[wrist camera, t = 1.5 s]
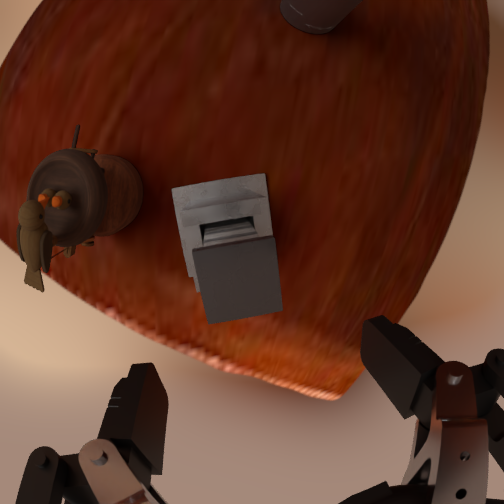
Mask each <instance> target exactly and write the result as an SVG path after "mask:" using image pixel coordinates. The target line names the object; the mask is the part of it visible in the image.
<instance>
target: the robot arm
mask: <svg viewBox="0 0 504 504" xmlns="http://www.w3.org/2000/svg"><path fill="white" fill-rule="evenodd" d="M361 1H363V0H282V1H281V4H280V10H281V13H282V15H283V17H284V18H285V19H286V20H287V21H288V22H289V23H290V24H291V25H293V26H294V27H296V28H297V29H300V30H302V31H305V32H308V33H313V34H323V33H327V32H330V31H331V30H332V29H334V27H335V26H336V25H337V24H338V23H339V22H340V21H341V20H343V19H344V18H345V17H346V16H347V15H348V14H349V13H350V12H351V11H352V10H353V9H354V8H355V7H356V6H357V5H358V4H359V3H360V2H361ZM360 353H361V359H362V362H363V364H364V366H365V367H366V369H367V370H368V371H369V373H370V374H371V375H372V376H373V378H374V379H375V380H376V381H377V383H378V384H379V386H380V387H381V388H382V390H383V391H384V392H385V393H386V395H387V396H388V398H389V399H390V401H391V402H392V403H393V404H394V405H395V407H396V409H397V410H398V411H399V413H400V414H401V415H402V417H403V418H404V419H407V418H409V417H411V416H412V415H414V414H415V415H416V416H417V418H418V419H417V421H416V426H415V433H414V440H413V446H412V451H411V457H410V462H409V465H408V468H407V470H406V472H405V475H404V477H403V480H402V483H401V485H397V486H390V487H389V485H388V484H387V482H386V481H385V482H382V483H380V484H378V485H376V486H374V487H372V488H369V489H367V490H364V491H362V492H360V493H357V494H354V495H352V496H350V497H349V498H347V499H345V500H344V501H342V502H340V503H339V504H504V500H499V499H488V498H486V494H487V482H488V462H489V461H488V460H489V452H490V453H491V455H492V456H493V457H494V459H495V460H496V462H497V463H498V464H499V466H500V467H501V469H502V470H503V472H504V410H503V409H502V408H501V407H500V406H499V405H498V404H497V400H498V398H499V396H500V395H502V397H503V398H504V349H493V350H491V351H490V352H489V353H488V354H487V356H486V359H485V361H484V363H482V364H479V365H475V366H472V367H468V366H467V365H465V364H463V363H461V362H458V361H449V362H444V361H443V360H442V359H441V358H440V357H439V356H438V355H437V354H436V353H435V352H433V351H432V350H431V349H430V348H429V347H428V346H427V345H426V344H424V343H423V342H421V340H420V339H419V338H418V337H415V335H414V334H413V333H412V332H411V331H410V330H409V329H407V328H406V327H403V326H401V325H399V324H396V323H395V324H393V323H391V322H390V321H389V320H388V319H387V318H386V317H385V316H383V315H380V316H377V317H374V318H371V319H368V320H365V321H364V323H363V329H362V341H361V351H360ZM167 414H168V396H167V393H166V390H165V388H164V386H163V384H162V382H161V380H160V378H159V375H158V373H157V371H156V368H155V366H154V364H153V363H140V364H132V366H131V368H130V371H129V374H128V377H127V378H122V379H121V380H120V381H119V382H118V383H117V384H116V386H115V387H114V389H113V392H112V395H111V399H110V400H109V403H108V408H107V410H106V412H105V416H104V419H103V422H102V425H101V428H100V431H99V434H98V437H97V439H95V440H92V441H89V442H88V443H86V444H85V445H84V446H83V447H82V448H81V450H80V452H79V453H78V454H72V455H63V456H60V455H58V454H57V452H55V450H53V449H52V448H50V447H46V446H43V447H39V448H37V449H35V450H34V451H33V452H32V453H31V455H30V456H29V459H28V462H27V465H26V468H25V471H24V474H23V478H22V481H21V484H20V488H19V492H18V495H17V499H16V504H61V503H62V497H63V498H64V499H65V503H64V504H168V503H167V502H166V501H165V500H164V499H163V497H162V496H161V495H160V494H159V493H158V491H157V490H156V489H155V488H154V486H153V485H152V484H151V483H150V482H151V475H162V468H163V454H164V443H165V433H166V423H167Z"/></svg>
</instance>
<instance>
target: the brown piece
mask: <svg viewBox="0 0 504 504" xmlns="http://www.w3.org/2000/svg"><path fill="white" fill-rule="evenodd" d="M79 130H80V125H77V126H76V129H75V134H74V138H73V143H72V148H69V149H63V150H59V151H56V152H54V153H52V154H50V155H49V156H47V157H46V158H45V159H44V160H43V161H42V162H41V163H40V164H39V165H38V166H37V168H36V169H35V171H34V173H33V175H32V177H31V179H30V182H29V185H28V190H27V201H26V202H25V203H24V204H23V205H22V206H21V207H20V210H19V214H18V219H19V225H18V227H17V244H18V250H19V255H20V258H21V260H22V261H24V262H26V264H27V269H26V274H25V279H24V282H25V284H28V285H29V286H32V287H33V288H36V289H37V290H40V291H41V292H44V285H43V281H42V275H41V270H40V268H41V266H42V269H43V272H45V273H47V272H48V271H49V267H50V262H51V259H52V258H53V257H55V256H56V255H58V254H60V253H61V252H63V251H64V256H65V257H67V258H69V257H70V256H72V255H73V254H74V253H75V249H76V245H78V244H81V245H83V246H93V245H94V241H93V240H94V236H109V235H112V234H114V233H116V232H118V231H120V230H121V229H123V228H124V227H126V226H127V225H128V224H130V223H131V222H132V221H133V220H134V218H135V217H136V216H137V214H138V212H139V210H140V208H141V204H142V200H143V185H142V180H141V178H140V175H139V173H138V171H137V170H136V168H135V167H134V166H133V165H132V164H131V163H130V162H129V161H127V160H125V159H124V158H121V157H118V156H112V155H105V154H101V155H95V153H96V154H97V152H98V150H95V149H92V150H91V149H80V148H76V144H77V139H78V134H79ZM86 153H91V156H89V155H88V154H86ZM55 245H56V246H60V247H64V250H62V251H61V252H59V253H57V254H56V255H54V256H52V257H51V255H52V246H55Z"/></svg>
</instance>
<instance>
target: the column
mask: <svg viewBox="0 0 504 504" xmlns="http://www.w3.org/2000/svg"><path fill="white" fill-rule="evenodd" d="M192 256H193V260H194V265H195V270H196V274H197V279H198V283H199V287H200V292H201V296H202V300H203V304H204V309H205V313H206V317H207V321H208V324H213V323H219V322H225V321H231V320H237V319H242V318H247V317H253V316H258V315H263V314H268V313H273V312H278V311H283V307H282V298H281V288H280V279H279V270H278V261H277V252H276V244H275V237H274V236H273V235H268V236H262V237H260V236H259V235H258V233H257V232H256V231H255V230H254V228H253V226H252V225H251V224H250V223H249V221H248V220H247V219H246V217H241V218H235V219H229V220H223V221H217V222H212V223H206V228H205V233H204V240H203V247H199V248H193V249H192Z"/></svg>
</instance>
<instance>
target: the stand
mask: <svg viewBox="0 0 504 504" xmlns="http://www.w3.org/2000/svg"><path fill="white" fill-rule="evenodd" d="M172 195H173V201H174V206H175V212H176V217H177V222H178V228H179V233H180V238H181V242H182V247H183V252H184V257H185V261H186V266H187V270H188V274H189V277H194V282H195V286H196V290H197V292H200V287H199V283H198V279H197V274H196V270H195V265H194V260H193V256H192V249H193V248H199V247H203V240H204V233H205V228H206V223H212V222H217V221H223V220H229V219H235V218H241V217H246V219H247V220H248V221H249V223H250V224H251V225H252V226H253V228H254V230H255V231H256V232H257V233H258V235H259V236H260V237H262V236H268V235H273V232H272V224H271V216H270V208H269V201H268V193H267V186H266V178H265V173H263V174H255V175H248V176H241V177H235V178H228V179H222V180H216V181H210V182H204V183H198V184H193V185H188V186H182V187H177V188H172Z"/></svg>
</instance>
